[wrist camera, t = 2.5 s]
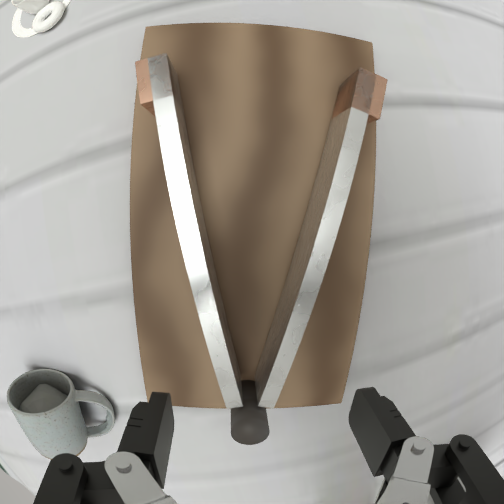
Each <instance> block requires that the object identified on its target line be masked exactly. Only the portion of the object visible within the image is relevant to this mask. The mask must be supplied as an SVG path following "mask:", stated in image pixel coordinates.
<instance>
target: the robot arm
mask: <svg viewBox="0 0 504 504" xmlns="http://www.w3.org/2000/svg"><path fill="white" fill-rule="evenodd" d="M349 424H350V427H351V429H352V431H353V434H354V436H355V438H356V440H357V442H358V444H359V446H360V448H361V451H362V453H363V455H364V457H365V459H366V461H367V463H368V465H369V468H370V470H371V472H372V474H373V476H374V477H376V476H380V475H384V477H385V479H384V481H383V483H382V485H381V488H380V490H379V493H378V495H377V497H376V500H375V502H374V504H504V480H503V478H502V477H501V476H500V474H499V473H498V471H497V470H496V468H495V467H494V466H493V464H492V463H491V461H490V460H489V459H488V457H487V456H486V454H485V453H484V452H483V450H482V449H481V448H480V446H479V445H478V444H477V442H476V441H475V440H474V439H473V438H472V437H470V436H468V435H457V436H455V437H453V438H452V440H451V441H450V443H449V444H441V445H433V444H432V443H431V442H430V441H429V440H428V439H426V438H424V437H419V436H416V435H415V434H414V432H413V431H412V429H411V428H410V426H409V425H408V424H407V422H406V421H405V419H404V418H403V416H401V413H400V412H399V411H398V410H397V408H396V406H395V405H394V403H393V402H392V401H391V400H389V399H388V398H386V397H385V396H381V397H380V395H379V394H378V392H377V391H376V389H375V388H374V387H369V388H362V389H357V390H356V392H355V396H354V399H353V403H352V406H351V410H350V413H349ZM173 432H174V416H173V409H172V402H171V395H170V393H164V392H152V393H151V396H150V399H149V402H139V403H138V404H137V405H136V406H135V407H134V408H133V409H132V412H131V414H130V417H129V420H128V422H127V426H126V428H125V431H124V434H123V436H122V439H121V442H120V445H119V448H118V450H117V452H116V453H114V454H112V455H110V456H109V457H108V458H107V459H106V461H102V462H85V463H83V462H82V461H81V459H80V458H79V457H77V456H76V455H74V454H70V453H62V454H59V455H56V456H55V457H54V458H52V460H51V461H50V463H49V466H48V468H47V470H46V473H45V475H44V478H43V480H42V483H41V485H40V488H39V490H38V493H37V495H36V498H35V500H34V503H33V504H177V503H176V501H175V500H174V499H173V498H172V497H171V496H167V495H166V494H165V493H164V492H163V490H162V489H164V484H165V478H166V472H167V466H168V460H169V454H170V449H171V443H172V437H173Z"/></svg>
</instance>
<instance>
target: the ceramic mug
mask: <svg viewBox="0 0 504 504" xmlns="http://www.w3.org/2000/svg"><path fill="white" fill-rule="evenodd" d="M78 401H84V402H90V403H95V404H98V405H100V406H102V407H103V408H105V409H107V416H106V420H107V421H106V422H105V423H103V424H101V425H98V426H94V427H86V424H85V421H84V419H83V416H82V414H81V410H80V406H79V402H78ZM7 402H8V405H9V407H10V408H11V410H12V412H13V414H14V415H15V417H16V419H17V421H18V423H19V424H20V426H21V428H22V429H23V431H24V432H25V434H26V436H27V437H28V439H29V441H30V442H31V444H32V445H33V446H34V447H35V449H36V450H37V451H38V452H39V453H41V454H42V455H43V456H45V457H46V458H48V459H51V460H52V458H54V457H55V456H56V455H59V454H62V453H70V454H74V455H76V456H78V455H79V454H80V453H81V452H82V451H83V450H84V448H85V446H86V444H87V438H88V437H97V436H102V435H104V434H107V433H108V432H109V431H110V430H111V429H112V428H113V426H114V423H115V416H114V410H113V407H112V405H111V403H110V402H109V400H108V399H107V398H105V397H104V396H102V395H101V394H98V393H96V392H92V391H84V390H75V388H74V385H73V383H72V381H71V379H70V378H69V377H68V376H67V375H66V374H64V373H62V372H60V371H57V370H53V369H37V370H32V371H29V372H26V373H24V374H22V375H21V376H19V377H18V378H17V379H15V380H14V381H13V382H12V384H11V385H10V387H9V389H8V392H7Z"/></svg>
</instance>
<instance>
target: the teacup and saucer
mask: <svg viewBox="0 0 504 504" xmlns="http://www.w3.org/2000/svg"><path fill="white" fill-rule="evenodd" d="M70 1H71V0H63V2H60V1H55V2H51V3H49V0H12V4H13V5H14V6H16V7H18V9H17V10H16V12H15V15H14V17H13V21H12V30H13V33H14V34H15V35H16V36H17V37H20V38H26V37H30V36H33V35H35V34H37V33H41V32H45V31H47V30H49V29H50V28H52V27H53V26H54V25H55V24H56V23H57V22H58V21H59V20H60V18H61V17H62V15H63V13H64V10H65V9H66V7H67V6H68V4H69V3H70ZM22 11H25V12H27V13H29V14H37V15H36V16H35V18H34V20H33V23H32V28H31V29H25V28H23V27H22V26H21V24H20V17H21V13H22ZM50 14H51V15H50ZM48 15H50V16H49V17H48V18H47V19H46V17H47V16H48ZM45 19H46V20H45Z"/></svg>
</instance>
